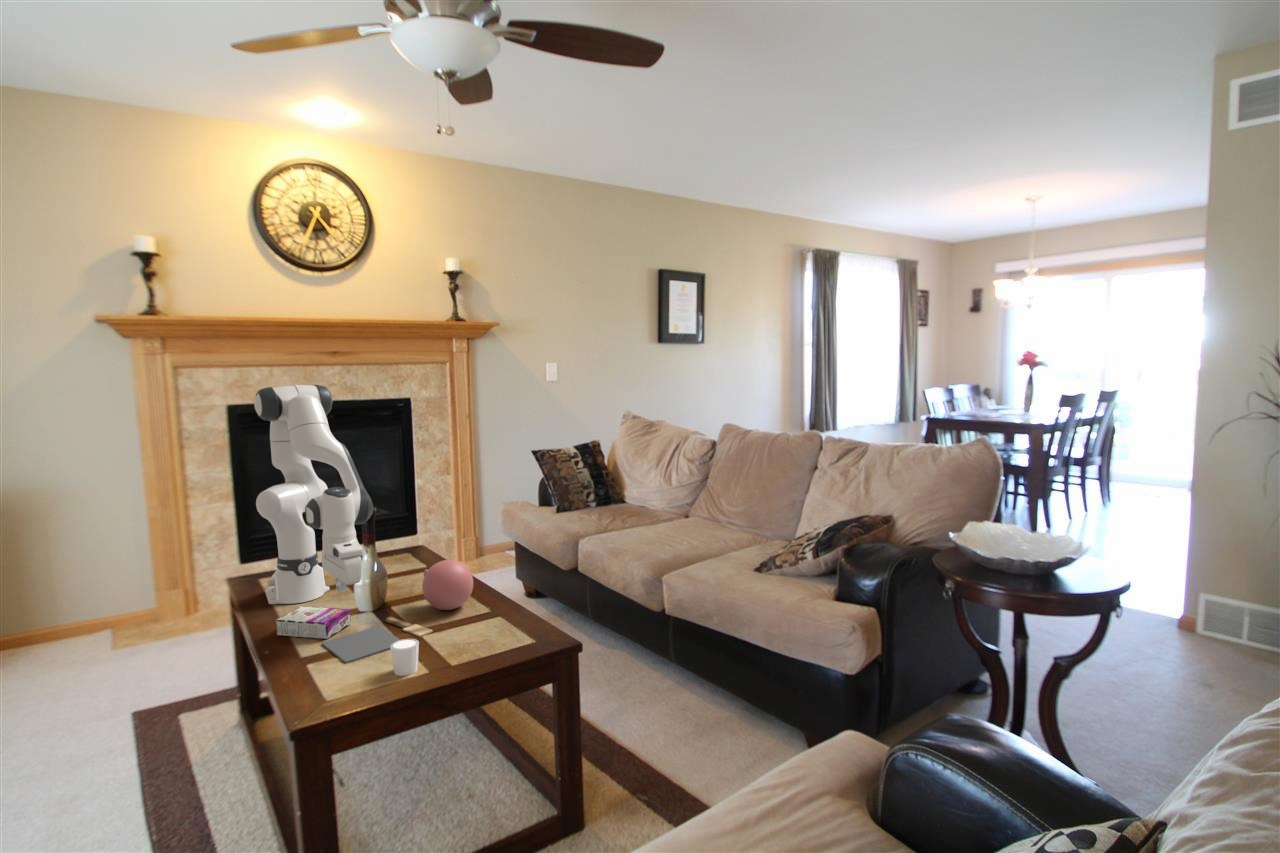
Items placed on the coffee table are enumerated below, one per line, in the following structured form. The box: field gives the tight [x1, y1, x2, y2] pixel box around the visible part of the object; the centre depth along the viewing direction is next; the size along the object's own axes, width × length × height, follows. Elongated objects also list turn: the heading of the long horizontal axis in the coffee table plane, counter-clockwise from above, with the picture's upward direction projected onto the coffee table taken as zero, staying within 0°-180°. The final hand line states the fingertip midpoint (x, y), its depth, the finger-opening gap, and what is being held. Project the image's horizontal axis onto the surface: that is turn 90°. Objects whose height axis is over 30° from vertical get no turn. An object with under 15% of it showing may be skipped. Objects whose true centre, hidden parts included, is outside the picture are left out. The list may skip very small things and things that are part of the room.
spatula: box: [385, 616, 434, 638], centre depth 193 cm, size 18×4×1 cm, turn 55°
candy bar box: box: [275, 605, 352, 640], centre depth 192 cm, size 11×5×16 cm
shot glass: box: [390, 638, 420, 677], centre depth 166 cm, size 7×7×7 cm
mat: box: [321, 625, 401, 664], centre depth 182 cm, size 17×16×1 cm
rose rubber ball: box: [421, 559, 474, 611], centre depth 209 cm, size 15×20×15 cm
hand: (341, 591), depth 190 cm, fingers closed
